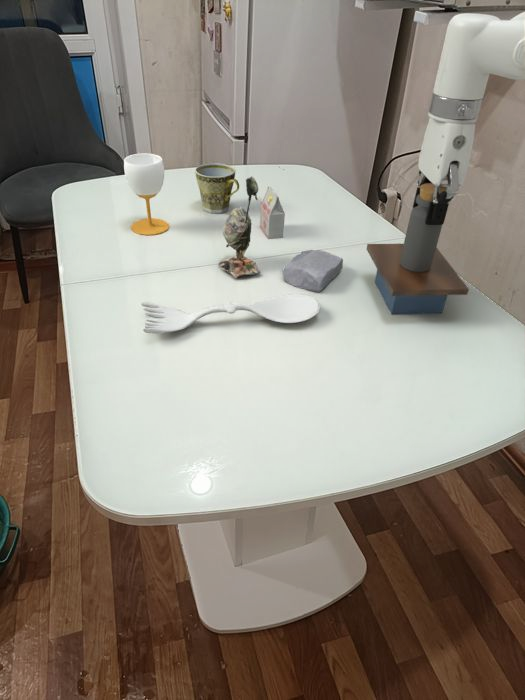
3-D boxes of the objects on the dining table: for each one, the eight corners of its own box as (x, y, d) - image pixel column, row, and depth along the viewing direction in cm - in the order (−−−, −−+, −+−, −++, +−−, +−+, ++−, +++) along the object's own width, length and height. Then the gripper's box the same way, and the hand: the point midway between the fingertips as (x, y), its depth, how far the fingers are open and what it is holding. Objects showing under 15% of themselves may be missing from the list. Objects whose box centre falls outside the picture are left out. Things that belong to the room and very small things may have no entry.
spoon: (142, 315, 93) (140, 299, 91) (310, 299, 100) (311, 284, 97) (145, 345, 86) (142, 328, 84) (324, 326, 93) (326, 310, 91)
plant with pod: (251, 253, 114) (253, 162, 102) (262, 278, 105) (266, 183, 93) (215, 255, 112) (213, 164, 100) (223, 282, 104) (222, 185, 91)
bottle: (422, 256, 100) (441, 181, 91) (436, 271, 96) (458, 193, 86) (394, 258, 99) (411, 182, 90) (407, 273, 95) (426, 195, 85)
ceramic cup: (188, 208, 132) (186, 169, 126) (216, 198, 138) (215, 160, 132) (224, 223, 126) (224, 183, 120) (251, 212, 132) (252, 173, 126)
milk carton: (274, 225, 126) (276, 185, 120) (283, 237, 121) (285, 196, 115) (260, 226, 125) (261, 186, 119) (268, 238, 120) (270, 197, 114)
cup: (123, 231, 120) (113, 162, 110) (143, 216, 127) (136, 150, 117) (157, 238, 118) (150, 168, 108) (176, 223, 125) (171, 156, 115)
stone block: (278, 288, 106) (323, 294, 101) (276, 267, 103) (321, 271, 98) (304, 267, 114) (346, 271, 109) (302, 246, 112) (345, 250, 107)
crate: (420, 281, 107) (427, 255, 103) (442, 313, 98) (450, 286, 94) (374, 281, 106) (379, 255, 102) (391, 314, 97) (397, 287, 93)
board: (432, 248, 106) (433, 243, 105) (467, 294, 92) (469, 289, 91) (366, 249, 105) (367, 243, 104) (391, 296, 90) (393, 290, 90)
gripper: (502, 123, 74) (466, 237, 85) (456, 95, 87) (430, 198, 98) (452, 122, 73) (423, 238, 84) (413, 94, 87) (392, 198, 98)
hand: (427, 215), depth 91 cm, fingers closed on bottle, 5 cm apart
